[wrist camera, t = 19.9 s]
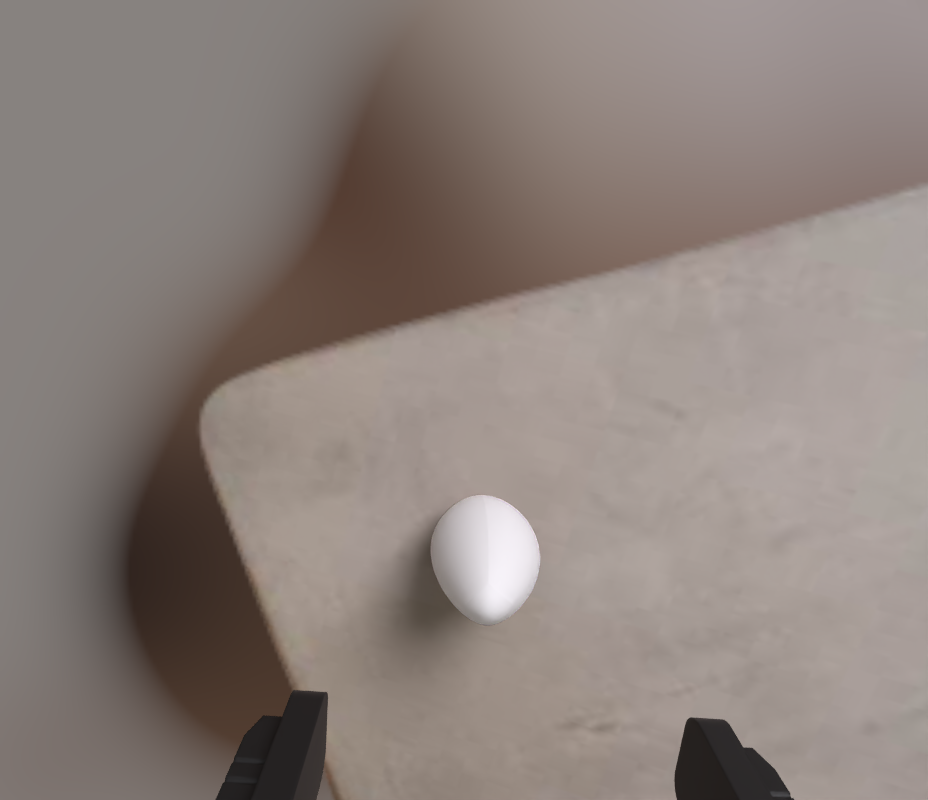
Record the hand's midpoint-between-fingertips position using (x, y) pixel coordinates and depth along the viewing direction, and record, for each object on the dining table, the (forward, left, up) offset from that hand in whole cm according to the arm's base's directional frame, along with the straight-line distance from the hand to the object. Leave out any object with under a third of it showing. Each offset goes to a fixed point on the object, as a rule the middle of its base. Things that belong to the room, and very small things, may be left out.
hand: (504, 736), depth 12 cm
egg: (0, 0, -10) cm, 10 cm away
